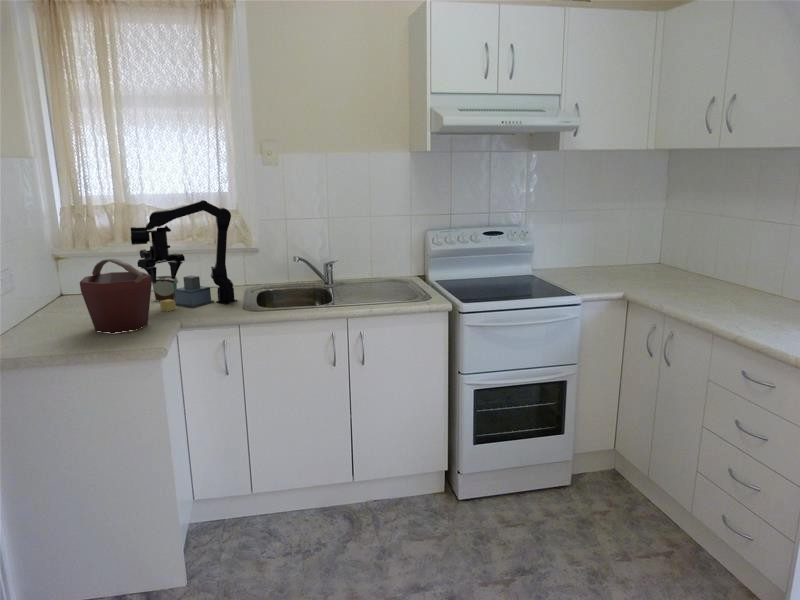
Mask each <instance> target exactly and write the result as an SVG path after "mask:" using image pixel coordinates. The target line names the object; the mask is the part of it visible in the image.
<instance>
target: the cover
mask: <svg viewBox="0 0 800 600" xmlns="http://www.w3.org/2000/svg"><path fill="white" fill-rule="evenodd" d="M200 279H201V278H200V276H198V275H191V274H190V275H187V276H183V287H180V288H177V289H175V298H176V301H175V303H176V304H183V305H189V306H195V305H199V304H202V303H206V302H210V301H211V300H212V293H211V287H209V286H203V285H201V282H200V281H201V280H200Z"/></svg>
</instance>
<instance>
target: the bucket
mask: <svg viewBox="0 0 800 600" xmlns="http://www.w3.org/2000/svg"><path fill="white" fill-rule="evenodd" d="M107 263H113V264H115V265H117V266H119V267H121V268H123V269H124V270H125V271H113V272H106V273H101V272H102V269H103V267H104V266H105V265H106V264H107ZM91 274H92V275H88V276H85V277H84V278H82V280H80V281H79V287H80V291H81V292H80V293H81V295H82V298H83V300H84V303H85V306H86V309H87V311H88V314H89V317H90V319H91V322H92V325H93V327H94V329H95V332H96V331H101V332H110V333H115V332H122V331H129V330H136V329H139V328H141V327H143V326H145V325H147V326H148V325H149V323H148V322H149V317H150V316H149V313H150V304H151V294H152V287H153V284H152V281H151V275H149V274H148V273H146V272H143V271H140V270H138V269H136V268H135V267H134V266H132V265H131V264H129V263H128V262H125V261H122V260H120V259H116V258H108V259H102V260H100V261H99V262H97V263H96V264H95V265H94V267H93V269H92V272H91ZM145 327H146V326H145ZM143 328H144V327H143ZM141 329H142V328H141ZM139 330H140V329H139Z"/></svg>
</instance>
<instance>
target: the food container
mask: <svg viewBox="0 0 800 600" xmlns="http://www.w3.org/2000/svg"><path fill="white" fill-rule="evenodd" d="M151 281H152V280H151ZM178 283H179V280H178V278H177V276H175V279H172V277H171V275H161V276H156V283H155V284H154V283H153V282H152V289H153V294H154V298H155V301H156V300H160V301H163V300H167V299H170V300H175V302H176V298H175V289H178V285H177V284H178ZM160 301H159V302H160Z"/></svg>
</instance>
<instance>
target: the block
mask: <svg viewBox="0 0 800 600" xmlns="http://www.w3.org/2000/svg"><path fill="white" fill-rule="evenodd" d="M175 303H176V301H175V300H170V299H167V300H163V301H159V304H160V306H159V307H160V311H161V312H168V311H169V312H173V311H176V310H177V307H176V306H177V305H175ZM175 309H176V310H175ZM172 310H173V311H172ZM169 312H168V313H169Z"/></svg>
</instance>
